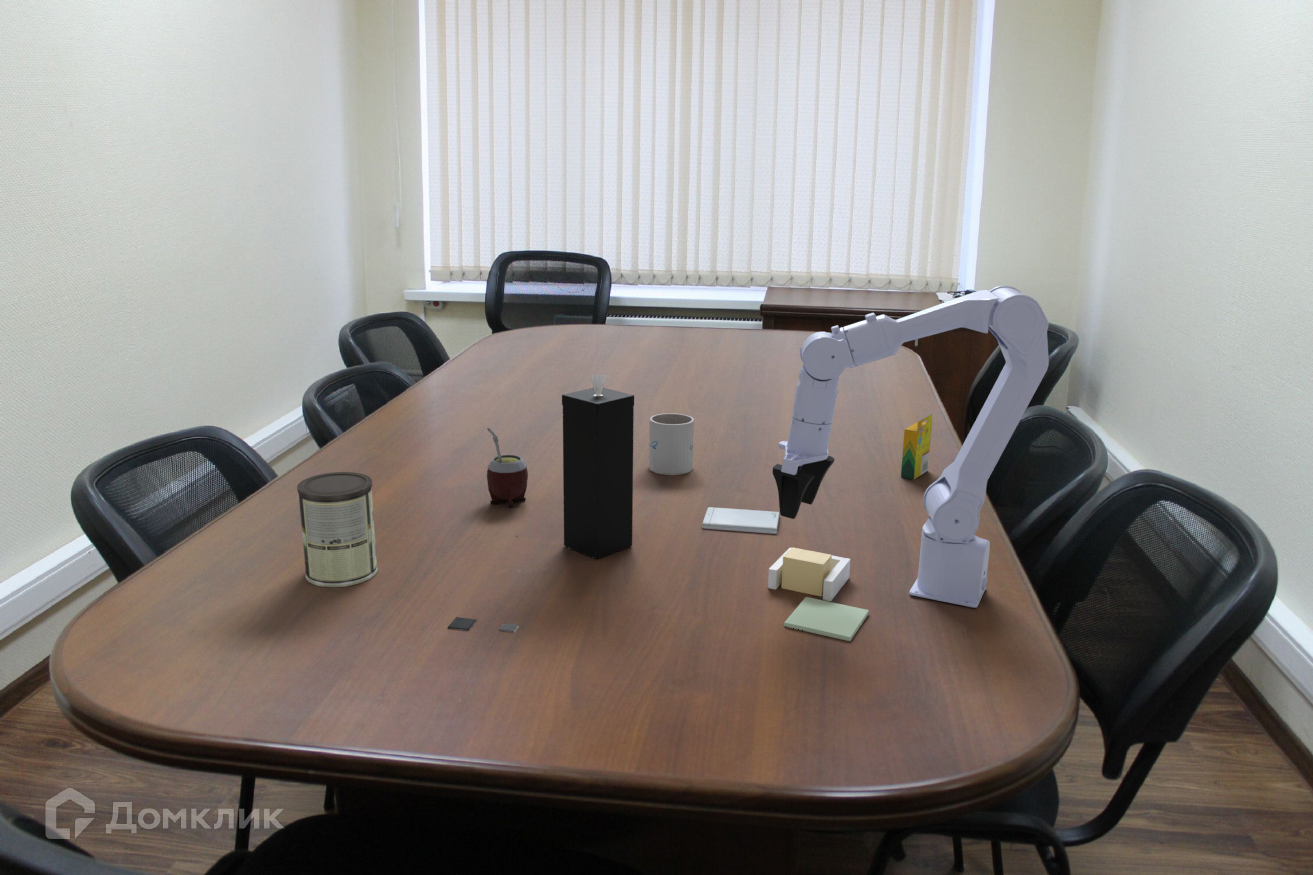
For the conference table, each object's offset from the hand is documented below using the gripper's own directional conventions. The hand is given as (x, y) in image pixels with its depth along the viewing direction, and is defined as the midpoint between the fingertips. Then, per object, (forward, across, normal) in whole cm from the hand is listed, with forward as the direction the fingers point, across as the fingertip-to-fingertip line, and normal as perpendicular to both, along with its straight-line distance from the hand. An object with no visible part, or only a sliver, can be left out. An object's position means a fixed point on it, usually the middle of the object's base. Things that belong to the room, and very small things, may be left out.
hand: (796, 509), depth 147 cm
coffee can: (+19, +28, -58) cm, 67 cm away
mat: (+11, +9, +9) cm, 17 cm away
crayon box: (+9, -61, +5) cm, 62 cm away
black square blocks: (+17, +33, -32) cm, 49 cm away
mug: (+14, -43, -39) cm, 60 cm away
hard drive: (+13, -20, -15) cm, 28 cm away
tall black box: (+15, +1, -31) cm, 34 cm away
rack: (+11, -2, +3) cm, 12 cm away
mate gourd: (+17, -9, -54) cm, 58 cm away
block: (+11, 0, +3) cm, 12 cm away
